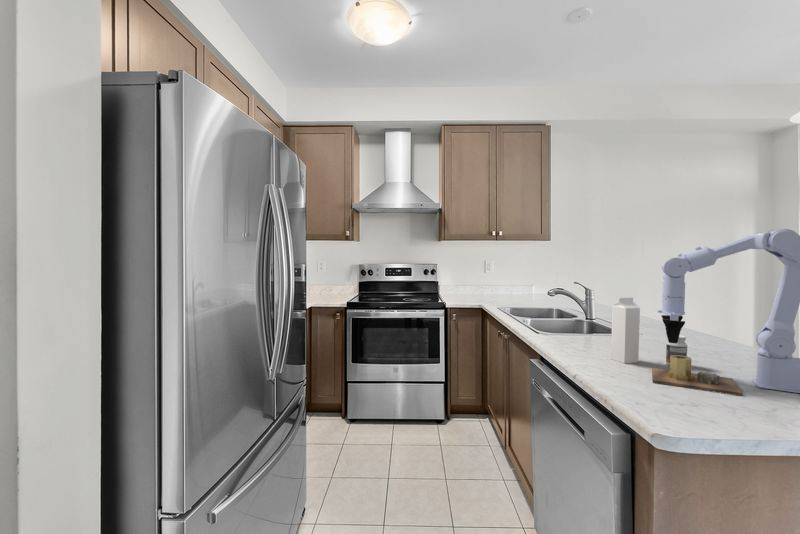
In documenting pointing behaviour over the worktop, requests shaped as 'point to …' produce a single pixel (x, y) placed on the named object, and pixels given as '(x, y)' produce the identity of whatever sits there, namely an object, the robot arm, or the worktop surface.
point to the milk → (625, 331)
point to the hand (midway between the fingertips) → (672, 340)
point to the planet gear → (680, 368)
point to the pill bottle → (676, 348)
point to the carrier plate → (698, 382)
